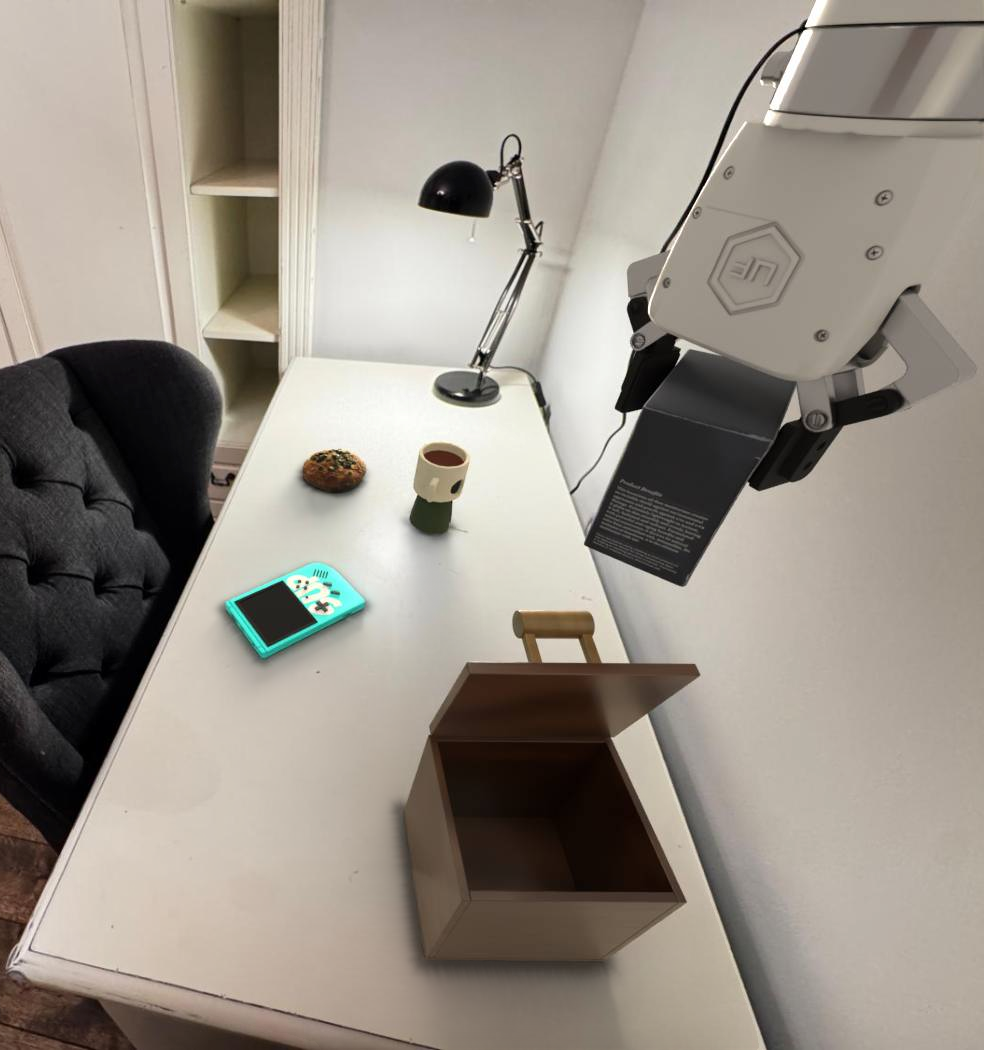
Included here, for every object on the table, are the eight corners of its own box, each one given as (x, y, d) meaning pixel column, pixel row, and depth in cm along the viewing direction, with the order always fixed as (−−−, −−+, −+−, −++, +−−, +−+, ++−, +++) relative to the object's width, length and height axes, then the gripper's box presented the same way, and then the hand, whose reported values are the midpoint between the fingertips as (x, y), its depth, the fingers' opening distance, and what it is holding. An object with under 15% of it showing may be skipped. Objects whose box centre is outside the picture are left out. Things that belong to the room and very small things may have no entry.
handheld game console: (366, 608, 75) (367, 601, 74) (262, 661, 69) (262, 654, 68) (323, 563, 82) (323, 556, 81) (224, 608, 75) (223, 601, 74)
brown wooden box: (604, 961, 46) (688, 902, 37) (425, 959, 46) (462, 900, 37) (553, 813, 55) (610, 735, 46) (403, 812, 55) (428, 734, 46)
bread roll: (323, 500, 92) (324, 472, 90) (290, 474, 101) (289, 448, 98) (378, 483, 97) (380, 456, 94) (342, 459, 105) (343, 434, 102)
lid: (701, 675, 36) (665, 598, 39) (469, 673, 36) (453, 596, 39) (614, 737, 45) (591, 670, 49) (430, 736, 45) (420, 669, 49)
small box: (624, 475, 44) (686, 343, 37) (721, 509, 40) (808, 371, 34) (576, 544, 38) (639, 400, 31) (685, 591, 34) (783, 441, 28)
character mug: (443, 552, 84) (461, 481, 75) (396, 538, 86) (409, 467, 77) (459, 510, 91) (477, 441, 83) (416, 498, 93) (429, 430, 85)
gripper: (649, 80, 29) (548, 392, 40) (1142, 101, 16) (797, 545, 28) (751, 79, 31) (629, 375, 42) (1257, 95, 19) (895, 510, 30)
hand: (696, 441), depth 35 cm, fingers closed on small box, 8 cm apart
